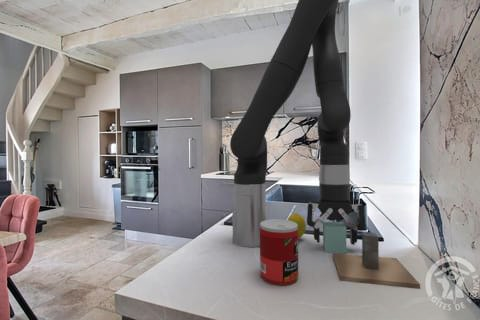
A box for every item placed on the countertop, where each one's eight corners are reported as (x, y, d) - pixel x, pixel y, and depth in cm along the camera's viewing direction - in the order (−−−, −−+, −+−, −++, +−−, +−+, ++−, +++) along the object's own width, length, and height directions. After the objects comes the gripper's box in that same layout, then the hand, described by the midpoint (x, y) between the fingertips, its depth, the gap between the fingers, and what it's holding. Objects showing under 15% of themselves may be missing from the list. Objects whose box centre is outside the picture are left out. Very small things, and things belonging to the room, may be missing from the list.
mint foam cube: (324, 252, 64) (324, 226, 63) (323, 245, 69) (323, 221, 68) (346, 253, 62) (346, 227, 62) (343, 246, 67) (342, 222, 67)
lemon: (306, 243, 70) (306, 215, 70) (286, 241, 72) (286, 214, 71) (305, 236, 76) (305, 210, 76) (287, 235, 77) (286, 210, 77)
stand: (339, 280, 49) (339, 241, 49) (332, 256, 61) (332, 224, 61) (420, 288, 46) (420, 246, 46) (396, 261, 57) (396, 228, 57)
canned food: (290, 290, 46) (290, 231, 46) (253, 279, 50) (252, 225, 50) (303, 273, 52) (303, 221, 52) (269, 265, 56) (268, 217, 56)
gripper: (306, 183, 63) (307, 245, 63) (367, 183, 60) (368, 249, 60) (306, 180, 70) (307, 236, 71) (360, 180, 67) (361, 239, 67)
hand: (335, 242), depth 65 cm, fingers open, 8 cm apart
